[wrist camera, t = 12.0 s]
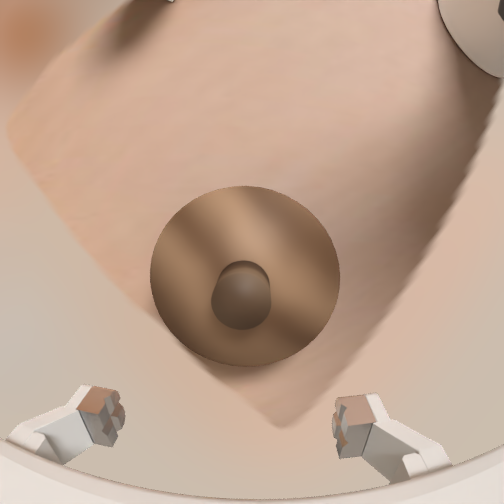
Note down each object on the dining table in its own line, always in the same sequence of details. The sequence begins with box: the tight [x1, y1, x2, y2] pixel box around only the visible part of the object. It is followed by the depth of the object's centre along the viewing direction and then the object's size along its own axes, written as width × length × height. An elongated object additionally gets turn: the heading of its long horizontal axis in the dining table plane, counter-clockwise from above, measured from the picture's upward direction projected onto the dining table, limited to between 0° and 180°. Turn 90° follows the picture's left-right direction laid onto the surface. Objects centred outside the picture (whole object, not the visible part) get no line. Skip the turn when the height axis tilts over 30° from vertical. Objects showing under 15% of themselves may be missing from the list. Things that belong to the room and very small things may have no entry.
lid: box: [150, 186, 340, 366], centre depth 23 cm, size 15×15×4 cm
